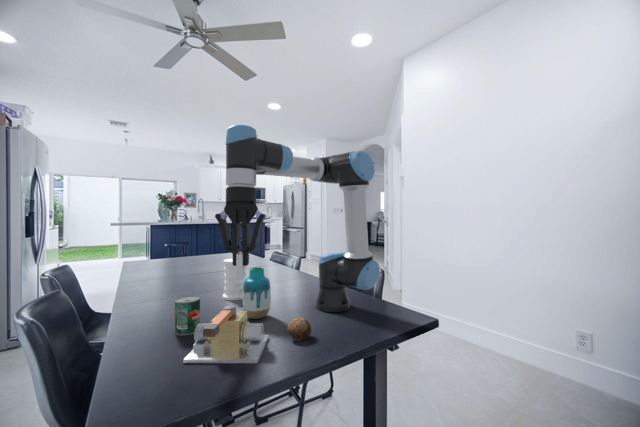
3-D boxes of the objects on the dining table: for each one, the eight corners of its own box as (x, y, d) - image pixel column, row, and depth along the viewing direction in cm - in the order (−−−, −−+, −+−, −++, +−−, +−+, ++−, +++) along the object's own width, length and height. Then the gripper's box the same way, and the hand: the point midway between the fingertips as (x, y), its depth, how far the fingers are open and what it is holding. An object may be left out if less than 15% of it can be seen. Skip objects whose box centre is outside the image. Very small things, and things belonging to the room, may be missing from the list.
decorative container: (229, 292, 139) (229, 257, 139) (251, 293, 137) (251, 258, 138) (218, 299, 128) (218, 261, 128) (241, 300, 126) (241, 262, 126)
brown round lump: (287, 321, 93) (293, 310, 90) (308, 329, 94) (315, 318, 91) (281, 342, 86) (287, 330, 83) (304, 350, 87) (311, 339, 84)
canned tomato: (175, 328, 96) (175, 296, 96) (200, 324, 99) (200, 294, 99) (173, 337, 88) (173, 303, 88) (200, 333, 91) (200, 300, 92)
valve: (268, 338, 88) (268, 307, 88) (257, 363, 73) (257, 326, 73) (206, 337, 88) (206, 307, 88) (183, 363, 73) (183, 325, 73)
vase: (264, 324, 99) (264, 271, 99) (237, 321, 101) (237, 270, 101) (274, 313, 110) (274, 266, 110) (250, 311, 112) (250, 265, 112)
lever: (225, 313, 82) (225, 305, 82) (237, 313, 82) (237, 305, 82) (201, 338, 65) (201, 328, 66) (216, 338, 65) (216, 328, 65)
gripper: (269, 188, 74) (268, 275, 74) (221, 188, 74) (220, 275, 74) (263, 185, 66) (262, 282, 66) (210, 185, 66) (209, 281, 66)
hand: (240, 278), depth 70 cm, fingers closed
